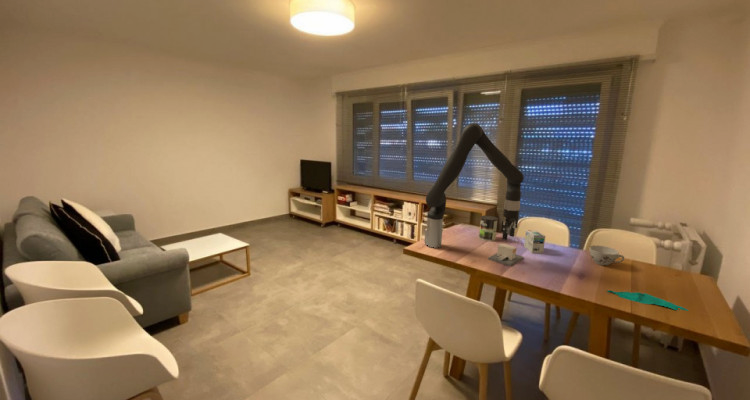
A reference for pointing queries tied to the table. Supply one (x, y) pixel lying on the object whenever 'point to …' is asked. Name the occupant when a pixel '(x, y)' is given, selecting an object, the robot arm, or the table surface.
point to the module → (507, 251)
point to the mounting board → (506, 260)
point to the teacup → (604, 255)
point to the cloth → (647, 299)
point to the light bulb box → (534, 241)
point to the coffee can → (488, 228)
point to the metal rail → (502, 258)
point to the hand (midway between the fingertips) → (508, 238)
